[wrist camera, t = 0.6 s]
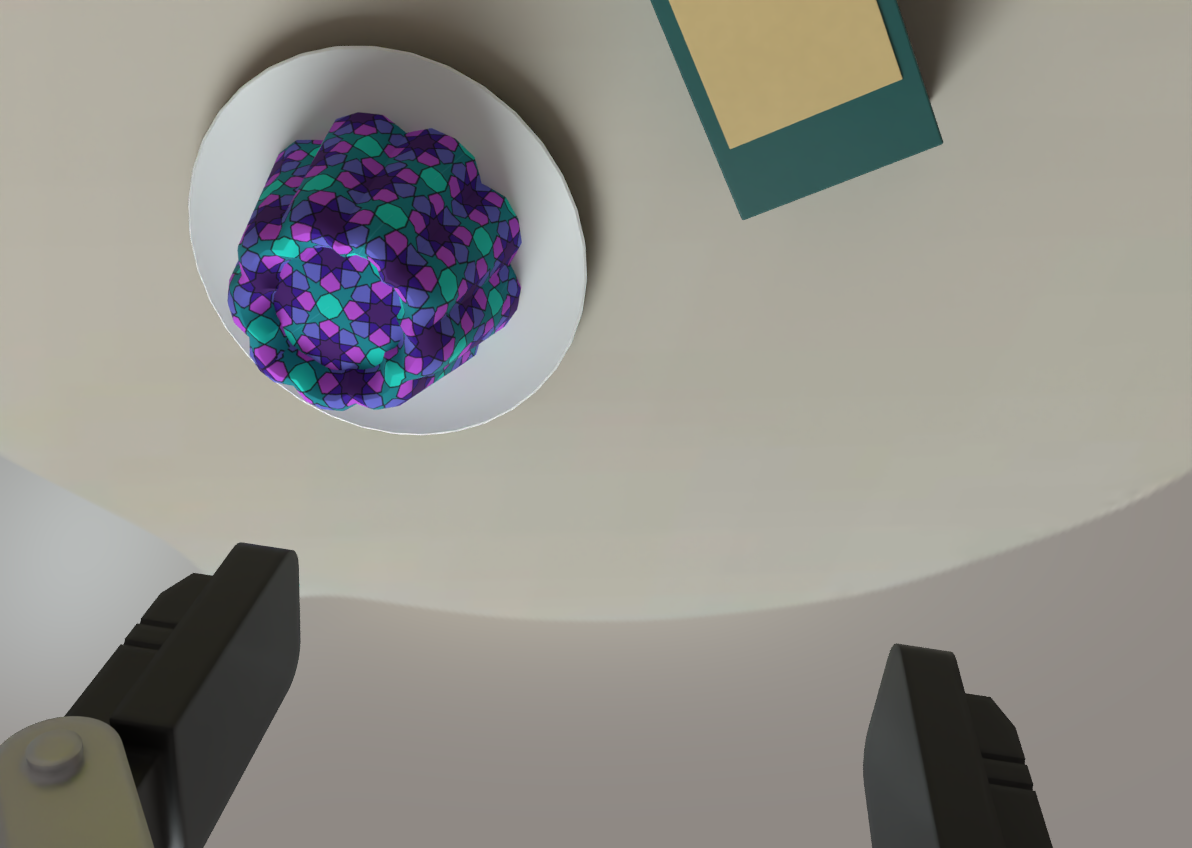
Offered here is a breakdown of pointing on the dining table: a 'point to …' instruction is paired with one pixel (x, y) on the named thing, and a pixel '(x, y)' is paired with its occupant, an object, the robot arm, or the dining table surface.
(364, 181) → the pudding
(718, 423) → the dining table surface
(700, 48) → the packet
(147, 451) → the dining table surface
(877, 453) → the dining table surface
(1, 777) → the robot arm
